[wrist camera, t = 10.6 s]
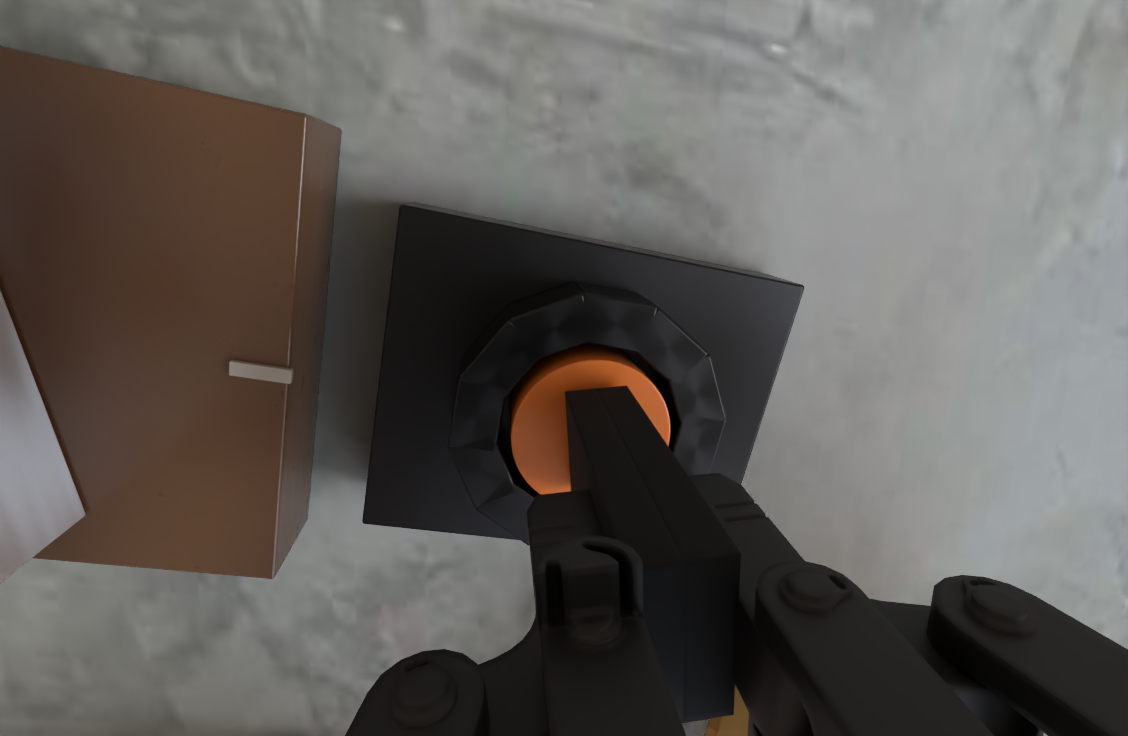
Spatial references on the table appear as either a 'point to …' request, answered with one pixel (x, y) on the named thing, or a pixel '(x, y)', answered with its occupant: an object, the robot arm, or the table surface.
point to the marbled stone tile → (28, 462)
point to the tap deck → (168, 307)
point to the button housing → (540, 329)
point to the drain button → (544, 408)
